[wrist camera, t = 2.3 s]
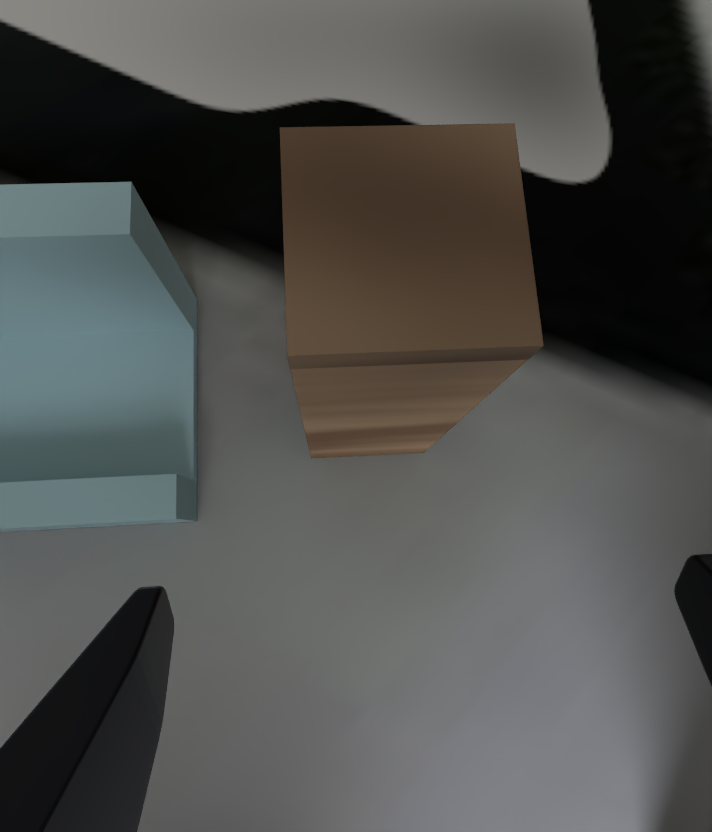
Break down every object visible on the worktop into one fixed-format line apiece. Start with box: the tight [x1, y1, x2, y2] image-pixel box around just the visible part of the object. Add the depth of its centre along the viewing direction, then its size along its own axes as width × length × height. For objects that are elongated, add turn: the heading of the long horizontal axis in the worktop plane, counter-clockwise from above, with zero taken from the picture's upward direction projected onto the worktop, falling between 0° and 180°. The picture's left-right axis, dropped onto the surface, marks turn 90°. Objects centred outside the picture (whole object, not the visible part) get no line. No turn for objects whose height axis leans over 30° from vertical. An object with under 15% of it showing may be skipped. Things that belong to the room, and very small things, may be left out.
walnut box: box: [280, 124, 544, 458], centre depth 17 cm, size 4×4×13 cm
